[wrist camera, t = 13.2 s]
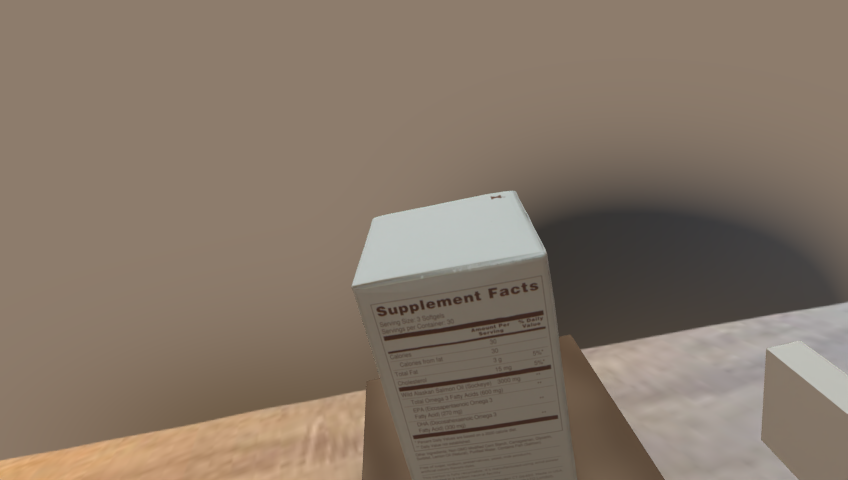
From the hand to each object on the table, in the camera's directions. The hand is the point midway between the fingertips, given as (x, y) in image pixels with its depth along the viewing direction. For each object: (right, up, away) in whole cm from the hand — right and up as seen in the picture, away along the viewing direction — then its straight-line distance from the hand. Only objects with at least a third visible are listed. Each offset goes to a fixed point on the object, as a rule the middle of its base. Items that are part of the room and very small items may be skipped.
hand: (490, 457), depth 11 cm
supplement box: (+2, -6, +14) cm, 15 cm away
